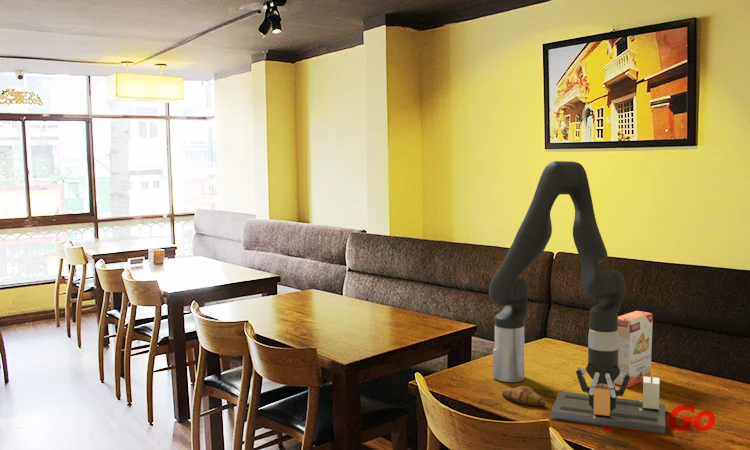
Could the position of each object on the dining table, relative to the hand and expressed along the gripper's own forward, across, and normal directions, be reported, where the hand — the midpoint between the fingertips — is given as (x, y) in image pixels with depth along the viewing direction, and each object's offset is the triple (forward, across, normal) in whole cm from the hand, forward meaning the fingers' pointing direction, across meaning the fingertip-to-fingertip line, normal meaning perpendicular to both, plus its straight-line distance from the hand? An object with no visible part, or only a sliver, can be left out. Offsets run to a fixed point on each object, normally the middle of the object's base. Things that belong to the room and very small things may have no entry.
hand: (602, 408), depth 172 cm
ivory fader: (+1, +12, +9) cm, 15 cm away
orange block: (+1, 0, 0) cm, 1 cm away
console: (+3, +1, +4) cm, 6 cm away
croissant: (+4, -22, +6) cm, 23 cm away
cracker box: (+3, +6, +34) cm, 35 cm away
